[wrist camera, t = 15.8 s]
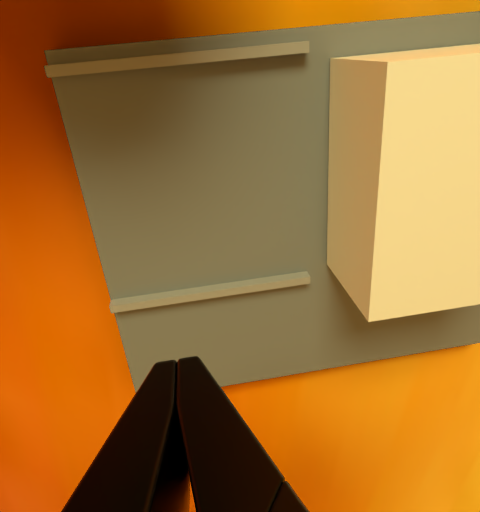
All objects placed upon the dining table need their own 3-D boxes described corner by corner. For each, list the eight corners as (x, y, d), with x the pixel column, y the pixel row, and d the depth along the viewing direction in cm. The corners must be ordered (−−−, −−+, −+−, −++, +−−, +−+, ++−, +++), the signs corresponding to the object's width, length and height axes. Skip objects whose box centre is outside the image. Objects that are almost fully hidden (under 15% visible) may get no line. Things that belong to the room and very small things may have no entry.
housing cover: (489, 42, 18) (599, 40, 13) (454, 245, 22) (527, 296, 17) (330, 58, 17) (387, 62, 12) (326, 264, 21) (368, 322, 17)
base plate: (537, 6, 18) (603, -1, 16) (468, 330, 27) (503, 364, 24) (52, 50, 17) (27, 50, 14) (139, 385, 25) (135, 429, 22)
